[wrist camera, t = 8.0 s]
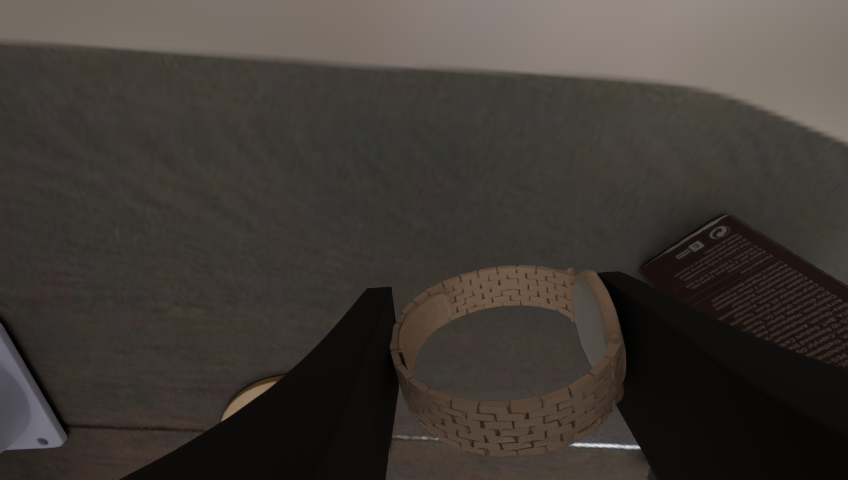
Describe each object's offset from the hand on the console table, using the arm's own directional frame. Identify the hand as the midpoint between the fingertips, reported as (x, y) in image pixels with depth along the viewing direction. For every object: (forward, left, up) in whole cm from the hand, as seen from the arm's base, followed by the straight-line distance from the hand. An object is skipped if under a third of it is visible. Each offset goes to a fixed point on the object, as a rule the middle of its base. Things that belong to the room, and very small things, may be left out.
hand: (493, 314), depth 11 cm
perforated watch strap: (0, 0, -2) cm, 2 cm away
